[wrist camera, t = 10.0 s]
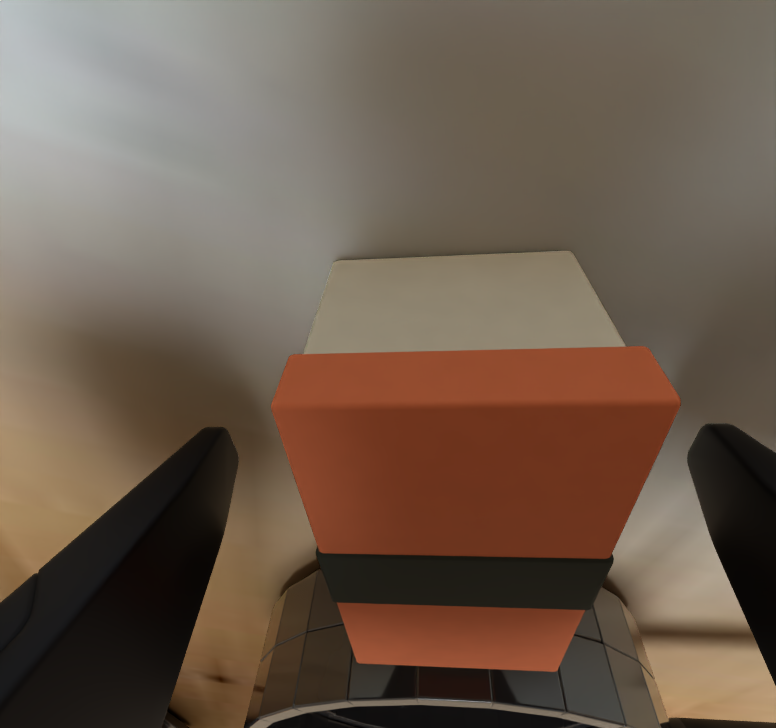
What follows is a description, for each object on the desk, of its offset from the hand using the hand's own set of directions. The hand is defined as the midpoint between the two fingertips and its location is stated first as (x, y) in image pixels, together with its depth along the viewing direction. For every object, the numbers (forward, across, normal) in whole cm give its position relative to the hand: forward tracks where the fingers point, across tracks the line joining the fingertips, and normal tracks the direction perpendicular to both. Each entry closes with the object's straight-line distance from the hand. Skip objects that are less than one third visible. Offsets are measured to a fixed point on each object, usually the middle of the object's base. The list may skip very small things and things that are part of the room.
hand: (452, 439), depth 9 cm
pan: (+1, 0, +12) cm, 12 cm away
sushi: (+1, 0, 0) cm, 1 cm away
